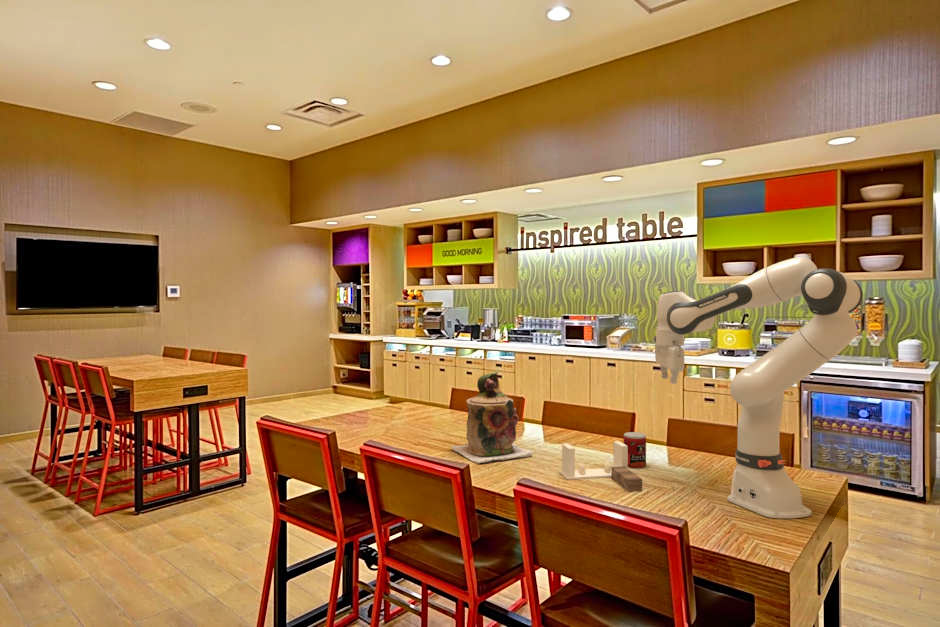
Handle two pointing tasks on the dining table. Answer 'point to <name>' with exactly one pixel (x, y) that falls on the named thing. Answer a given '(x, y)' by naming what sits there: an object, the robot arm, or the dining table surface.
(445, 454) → the dining table surface
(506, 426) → the cookie jar
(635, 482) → the brown rectangular bar
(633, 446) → the canned food
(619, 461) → the peg frame
